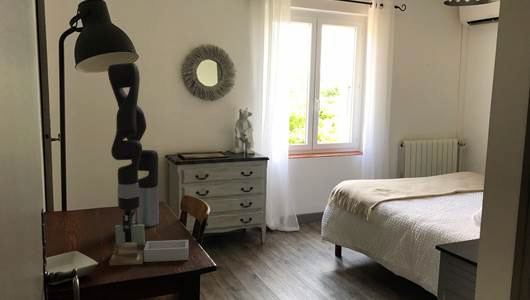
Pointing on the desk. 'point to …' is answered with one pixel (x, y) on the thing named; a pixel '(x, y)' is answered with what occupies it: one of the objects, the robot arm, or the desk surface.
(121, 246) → the offcut top
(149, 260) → the bin
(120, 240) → the sheet
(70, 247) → the desk surface
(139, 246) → the rack
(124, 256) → the offcut low
